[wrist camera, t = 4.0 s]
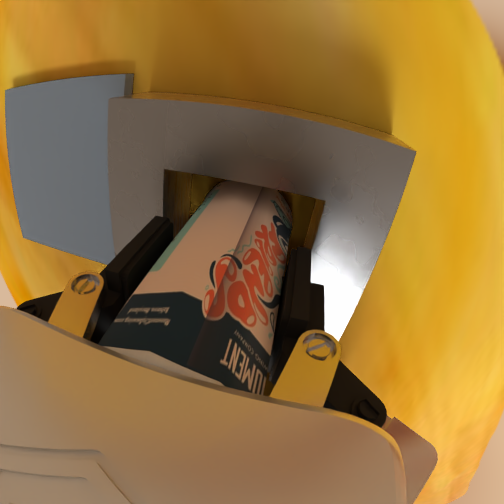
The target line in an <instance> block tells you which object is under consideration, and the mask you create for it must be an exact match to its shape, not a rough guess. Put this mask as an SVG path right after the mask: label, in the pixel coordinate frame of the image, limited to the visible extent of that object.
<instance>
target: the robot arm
mask: <svg viewBox="0 0 504 504" xmlns="http://www.w3.org/2000/svg"><path fill="white" fill-rule="evenodd" d="M173 230H174V225H173V223H172V222H170V219H169V218H166V217H161V216H155V217H154V218H153V219H152V220H151V221H150V222H149V223H148V224H147V225H146V226H145V227H144V228H143V229H142V230H141V231H140V232H139V233H138V234H137V235H136V236H135V237H134V238H133V239H132V240H131V241H130V242H129V243H128V244H127V245H126V246H125V247H124V248H123V249H122V250H121V251H120V252H119V253H118V254H117V256H116V257H115V258H114V259H113V260H112V261H111V262H110V263H109V264H108V265H107V266H106V268H105V269H104V270H103V271H102V272H101V273H100V274H98V273H96V272H82V273H79V274H77V275H75V276H74V277H72V278H71V279H70V281H69V282H68V284H67V286H66V287H65V289H64V291H63V292H59V293H55V294H52V295H48V296H44V297H40V298H36V299H33V300H29V301H26V302H24V303H22V304H21V305H19V306H18V307H17V309H14V308H10V307H5V306H0V504H413V503H414V501H415V500H416V498H417V496H418V495H419V493H420V492H421V490H422V488H423V487H424V485H425V483H426V482H427V480H428V478H429V477H430V475H431V473H432V471H433V470H434V468H435V466H436V463H437V460H438V459H437V452H436V450H435V448H434V447H433V446H432V445H431V444H430V443H429V442H428V441H426V440H425V439H423V438H422V437H421V436H419V435H418V434H417V433H415V432H414V431H413V430H411V429H410V428H409V427H407V426H406V425H405V424H403V423H402V422H401V421H399V420H398V419H397V418H395V417H394V418H393V419H391V418H390V417H388V416H387V412H386V408H385V406H384V404H383V403H382V401H381V400H380V399H379V398H378V397H377V396H376V395H375V394H374V393H373V392H372V391H371V390H370V389H369V388H367V387H366V386H365V385H364V384H363V383H362V382H361V381H360V380H359V379H358V378H357V377H356V376H355V375H354V374H353V373H352V372H351V371H350V370H349V369H348V368H347V367H346V366H345V365H344V364H343V363H342V362H341V361H340V360H339V359H340V356H341V346H340V343H339V342H338V340H337V339H336V338H335V337H334V336H332V335H331V334H329V333H327V332H325V297H324V285H320V284H316V283H311V249H308V248H303V247H299V246H298V247H297V250H296V249H292V250H291V253H290V257H289V261H288V265H287V269H286V272H285V276H284V280H283V283H282V290H281V296H280V302H279V308H278V314H277V320H276V326H275V332H274V338H273V344H272V349H271V355H270V361H269V366H268V372H270V375H269V380H268V381H271V382H272V384H273V385H274V386H275V387H274V389H273V390H272V392H271V394H270V396H269V397H268V396H263V395H259V394H254V393H250V392H245V391H241V390H237V389H233V388H229V387H225V386H221V385H217V384H213V383H210V382H206V381H202V380H199V379H196V378H192V377H189V376H185V375H182V374H179V373H176V372H172V371H169V370H166V369H163V368H160V367H157V366H154V365H151V364H148V363H145V362H142V361H140V360H137V359H134V358H131V357H129V356H126V355H123V354H121V353H118V352H116V351H113V350H110V349H108V348H105V347H103V346H100V345H98V343H99V342H100V340H101V339H102V337H103V336H104V334H105V333H106V331H107V330H108V328H109V327H110V325H111V324H112V322H113V321H114V320H115V318H116V317H117V315H118V314H119V312H120V311H121V310H122V308H123V307H124V305H125V304H126V302H127V301H128V300H129V298H130V297H131V295H132V294H133V293H134V291H135V290H136V288H137V287H138V286H139V284H140V283H141V282H142V280H143V279H144V278H145V276H146V275H147V273H148V272H149V271H150V269H151V268H152V267H153V265H154V264H155V263H156V261H157V260H158V259H159V257H160V256H161V255H162V254H163V252H164V251H165V250H166V248H167V247H168V246H169V244H170V243H171V242H172V241H173Z"/></svg>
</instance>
